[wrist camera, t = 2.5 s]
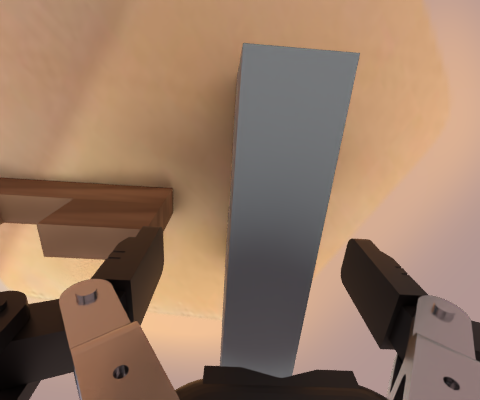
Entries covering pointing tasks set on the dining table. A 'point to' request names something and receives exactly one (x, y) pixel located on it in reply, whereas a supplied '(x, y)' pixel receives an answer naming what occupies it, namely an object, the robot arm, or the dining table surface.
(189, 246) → the dining table surface
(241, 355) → the grey block
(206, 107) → the dining table surface
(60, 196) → the walnut board
